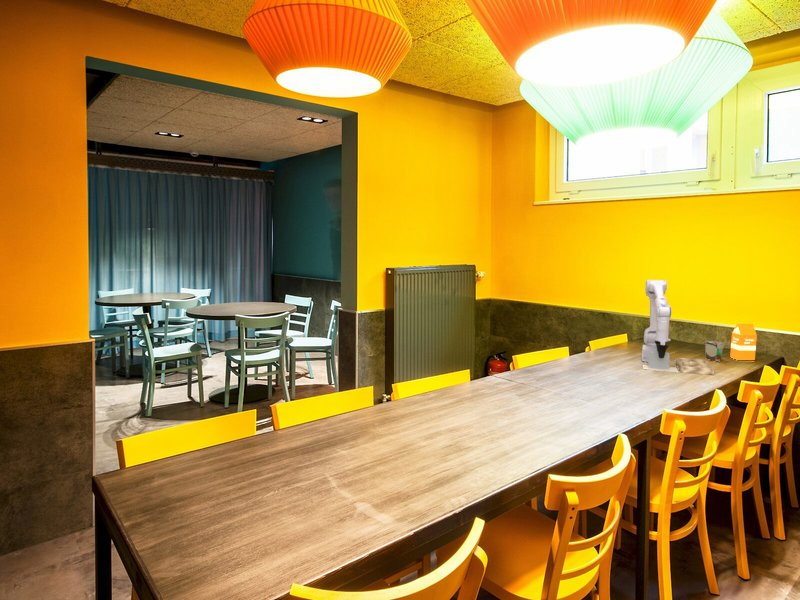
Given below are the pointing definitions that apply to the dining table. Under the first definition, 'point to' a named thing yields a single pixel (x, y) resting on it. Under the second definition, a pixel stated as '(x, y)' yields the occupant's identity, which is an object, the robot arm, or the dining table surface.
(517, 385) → the dining table surface
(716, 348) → the food container
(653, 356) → the tall block
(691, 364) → the offcut block top
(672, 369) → the beige panel
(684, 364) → the wooden tray
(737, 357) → the orange juice
